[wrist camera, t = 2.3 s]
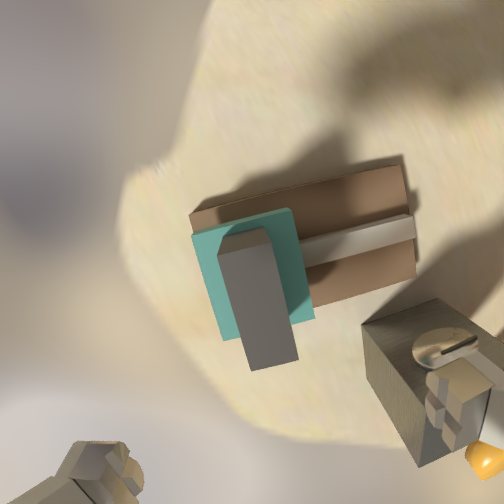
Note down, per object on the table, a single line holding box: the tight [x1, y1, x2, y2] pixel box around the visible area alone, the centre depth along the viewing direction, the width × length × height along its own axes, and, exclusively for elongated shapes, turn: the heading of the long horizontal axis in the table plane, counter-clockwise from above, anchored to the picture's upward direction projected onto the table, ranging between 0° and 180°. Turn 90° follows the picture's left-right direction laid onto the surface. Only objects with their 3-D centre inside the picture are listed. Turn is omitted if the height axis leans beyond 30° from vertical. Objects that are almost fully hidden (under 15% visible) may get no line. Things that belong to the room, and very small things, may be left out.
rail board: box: [189, 165, 417, 308], centre depth 23 cm, size 9×16×3 cm, turn 104°
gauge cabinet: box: [361, 298, 504, 468], centre depth 21 cm, size 7×8×12 cm
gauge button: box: [465, 439, 504, 480], centre depth 12 cm, size 4×4×2 cm
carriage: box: [191, 207, 315, 371], centre depth 19 cm, size 7×6×8 cm
